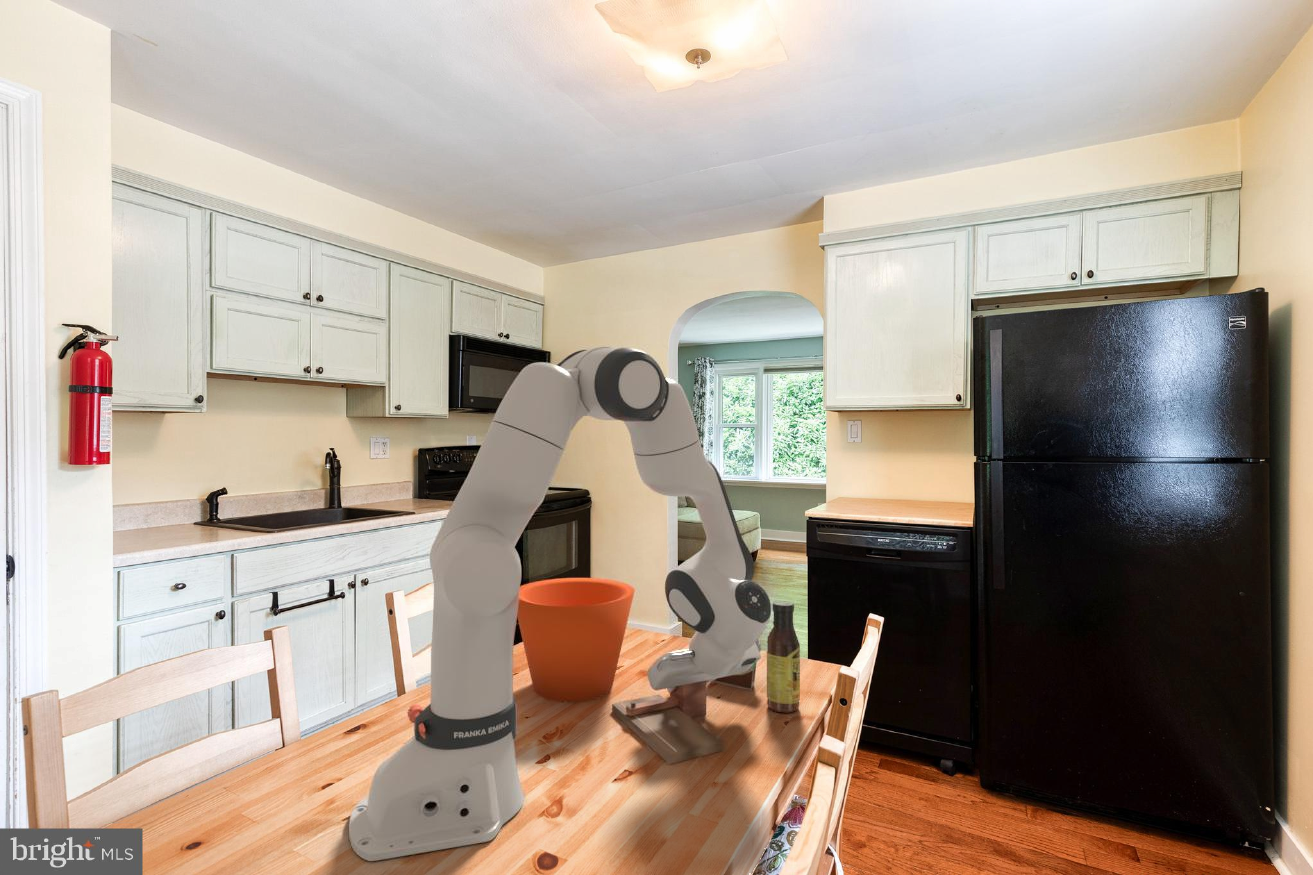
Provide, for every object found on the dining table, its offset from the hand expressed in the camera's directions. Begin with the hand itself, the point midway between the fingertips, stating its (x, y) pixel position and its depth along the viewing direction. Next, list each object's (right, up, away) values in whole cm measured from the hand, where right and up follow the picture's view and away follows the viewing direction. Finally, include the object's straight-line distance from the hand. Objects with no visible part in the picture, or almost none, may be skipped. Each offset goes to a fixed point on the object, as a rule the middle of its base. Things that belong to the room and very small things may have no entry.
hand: (686, 685), depth 122 cm
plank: (-4, -4, -9) cm, 11 cm away
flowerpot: (-23, -5, +11) cm, 26 cm away
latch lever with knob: (-4, -5, -3) cm, 7 cm away
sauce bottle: (+19, -5, +1) cm, 19 cm away
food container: (+12, -5, +15) cm, 19 cm away
